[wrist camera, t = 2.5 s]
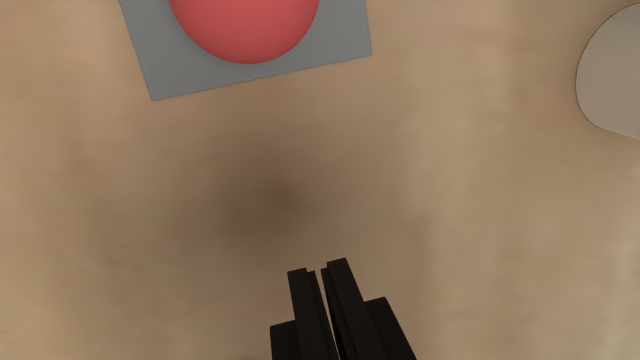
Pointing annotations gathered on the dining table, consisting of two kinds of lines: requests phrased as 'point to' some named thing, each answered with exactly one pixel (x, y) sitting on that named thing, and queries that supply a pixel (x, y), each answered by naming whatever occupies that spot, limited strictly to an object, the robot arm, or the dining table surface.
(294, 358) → the robot arm
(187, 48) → the grey flat plate
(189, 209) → the dining table surface
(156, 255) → the dining table surface
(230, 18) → the ball
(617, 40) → the cylindrical container
